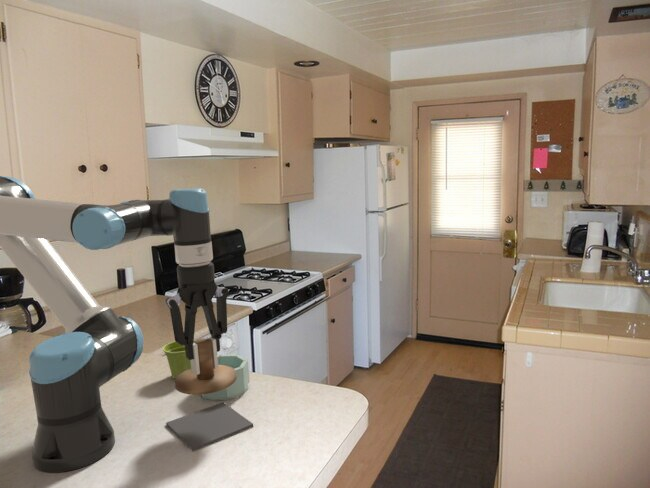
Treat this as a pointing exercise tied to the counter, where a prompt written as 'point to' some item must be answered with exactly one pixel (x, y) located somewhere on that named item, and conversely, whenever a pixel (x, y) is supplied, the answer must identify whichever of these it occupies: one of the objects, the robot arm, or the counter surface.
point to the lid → (205, 374)
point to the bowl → (241, 381)
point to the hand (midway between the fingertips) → (204, 369)
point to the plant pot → (176, 358)
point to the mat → (208, 425)
